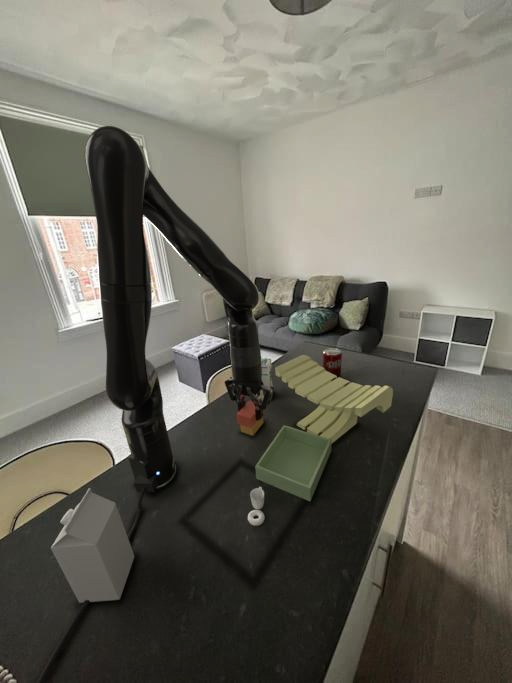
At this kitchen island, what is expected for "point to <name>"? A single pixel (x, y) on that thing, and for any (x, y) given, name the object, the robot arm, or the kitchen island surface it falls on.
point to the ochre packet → (252, 430)
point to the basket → (294, 461)
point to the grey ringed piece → (256, 506)
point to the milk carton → (94, 549)
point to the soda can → (332, 361)
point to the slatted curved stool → (331, 397)
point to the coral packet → (247, 415)
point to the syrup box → (266, 373)
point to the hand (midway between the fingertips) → (251, 416)
